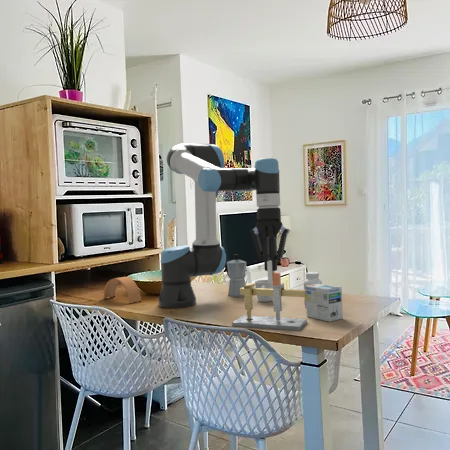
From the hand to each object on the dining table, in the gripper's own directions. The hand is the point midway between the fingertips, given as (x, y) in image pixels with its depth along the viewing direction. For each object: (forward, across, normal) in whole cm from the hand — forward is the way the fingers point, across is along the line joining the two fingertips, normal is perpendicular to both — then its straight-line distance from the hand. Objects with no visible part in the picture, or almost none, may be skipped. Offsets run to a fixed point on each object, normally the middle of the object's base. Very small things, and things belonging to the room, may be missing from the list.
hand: (271, 281), depth 147 cm
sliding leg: (+13, +2, +2) cm, 13 cm away
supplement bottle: (+14, +7, +28) cm, 32 cm away
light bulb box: (+14, +14, +13) cm, 24 cm away
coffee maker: (+14, -31, +45) cm, 57 cm away
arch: (+14, -77, +24) cm, 81 cm away
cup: (+14, -14, +34) cm, 40 cm away
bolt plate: (+14, -1, 0) cm, 14 cm away
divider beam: (+13, -1, +2) cm, 13 cm away
